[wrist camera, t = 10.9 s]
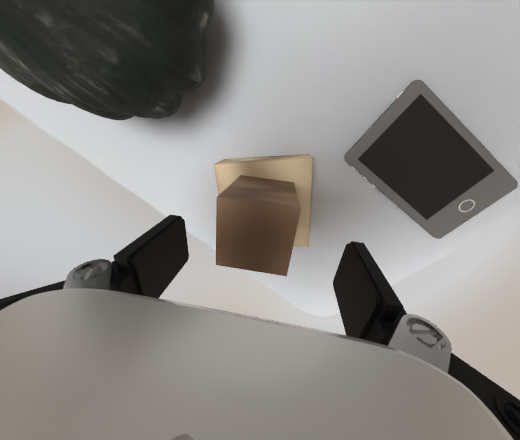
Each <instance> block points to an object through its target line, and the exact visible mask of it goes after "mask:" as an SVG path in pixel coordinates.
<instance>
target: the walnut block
mask: <svg viewBox="0 0 520 440" xmlns="http://www.w3.org/2000/svg"><path fill="white" fill-rule="evenodd" d="M300 212H301V207H300V203H299V200H298V196H297V192H296V189H295V185H294V182H288V181H281V180H273V179H266V178H259V177H251V176H244V175H240V176H239V177H238V178H237V179H236V180H235V181H234V182H233V183H232V184H230V185H229V186H228V187H227V188H226V189H225V190H224V191H223V192H222V193H221V194H220V195H219V196H218V197H217V219H216V265H220V266H227V267H233V268H239V269H245V270H252V271H258V272H264V273H270V274H277V275H283V276H287V271H288V267H289V262H290V257H291V253H292V248H293V244H294V239H295V235H296V230H297V226H298V221H299V217H300Z"/></svg>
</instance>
